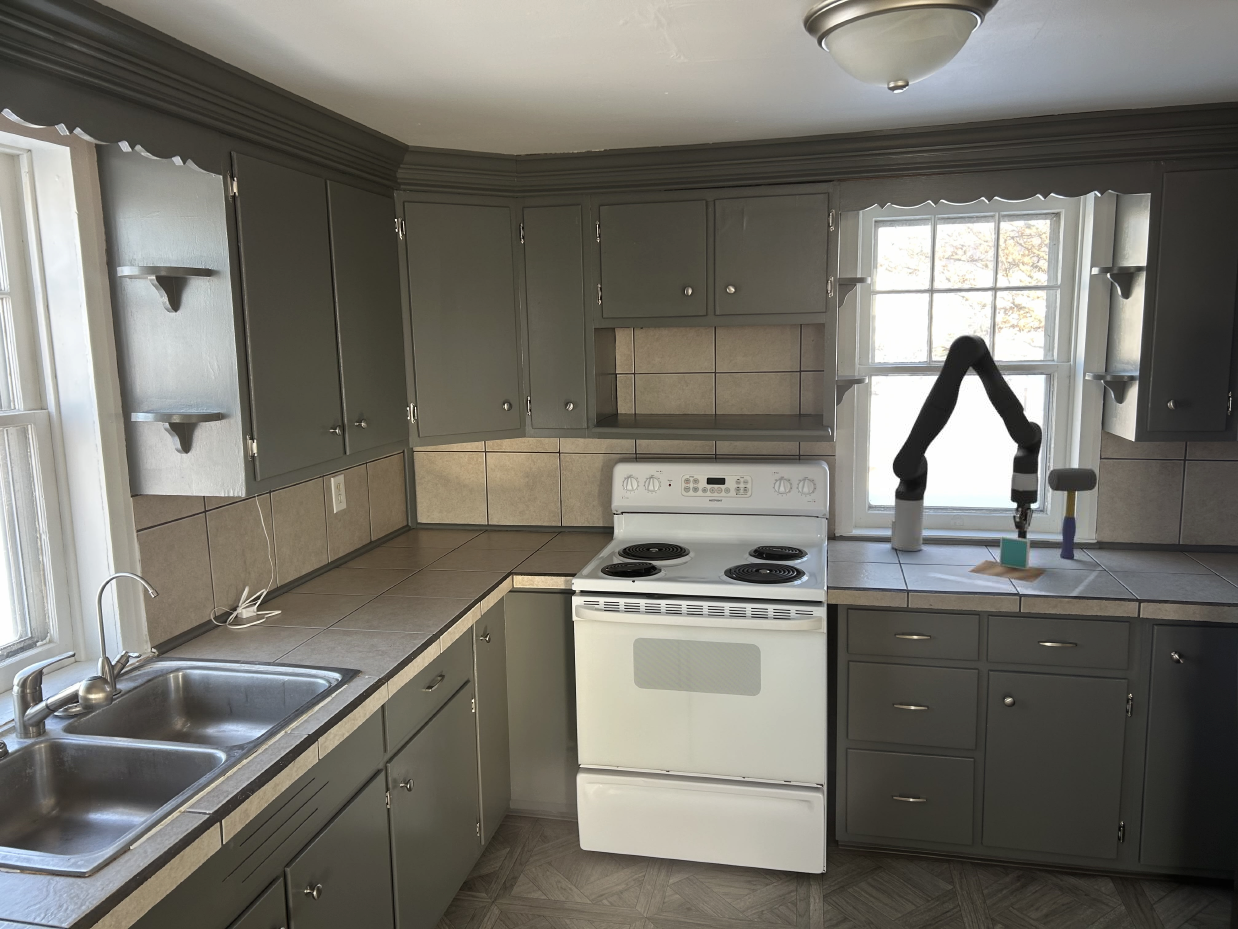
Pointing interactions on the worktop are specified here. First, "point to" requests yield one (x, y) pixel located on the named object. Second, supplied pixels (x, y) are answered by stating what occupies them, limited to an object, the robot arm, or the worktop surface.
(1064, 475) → the rubber mallet
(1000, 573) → the board
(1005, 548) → the block
